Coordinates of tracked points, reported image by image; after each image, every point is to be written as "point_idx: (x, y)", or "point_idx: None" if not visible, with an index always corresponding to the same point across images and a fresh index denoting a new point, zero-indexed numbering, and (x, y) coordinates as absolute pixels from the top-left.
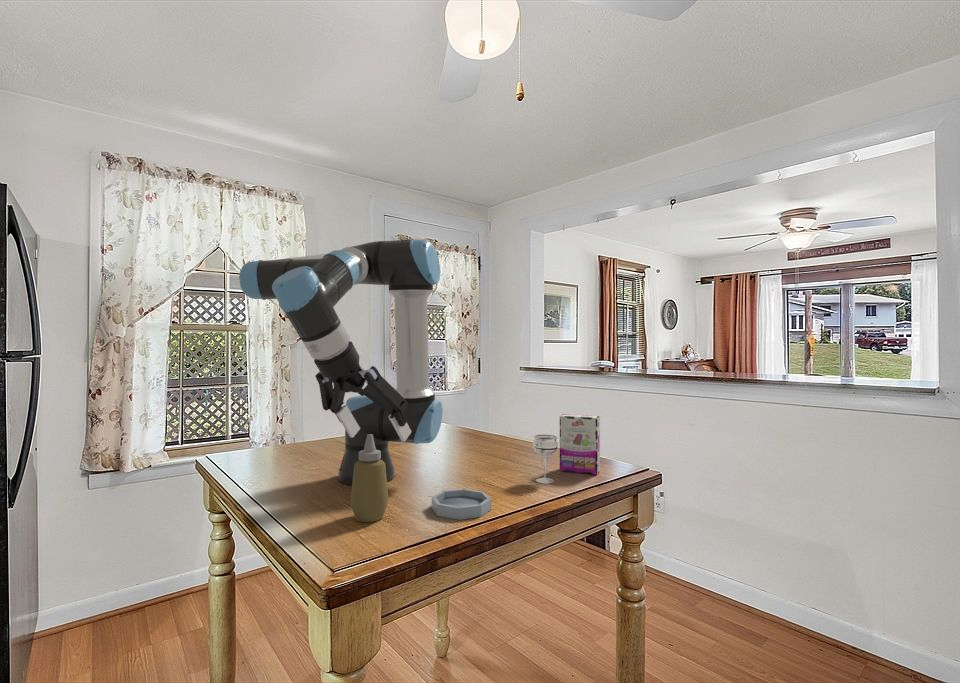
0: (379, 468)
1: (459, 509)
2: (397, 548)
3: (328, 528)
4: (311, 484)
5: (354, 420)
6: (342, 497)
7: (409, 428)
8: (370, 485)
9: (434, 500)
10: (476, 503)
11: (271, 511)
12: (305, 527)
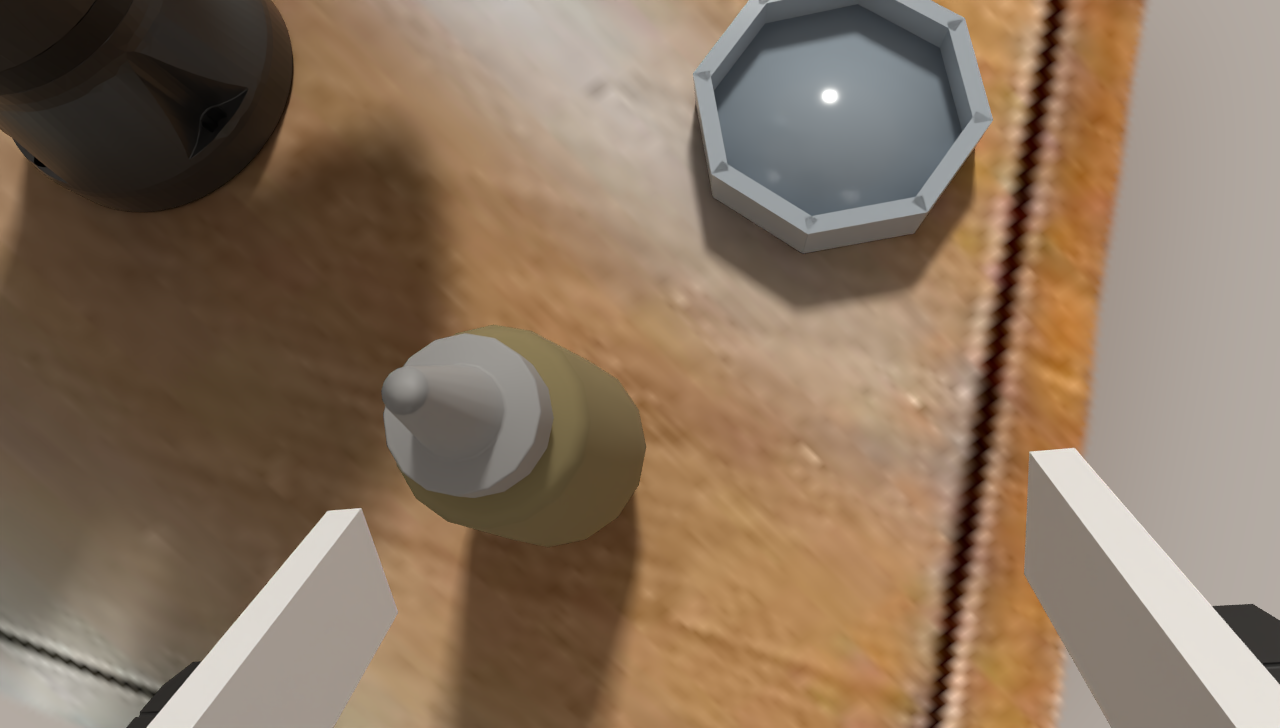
0: (593, 433)
1: (928, 210)
2: (929, 635)
3: (510, 654)
4: (13, 308)
5: (304, 603)
6: (269, 343)
7: (1098, 481)
8: (595, 502)
9: (757, 202)
10: (883, 62)
11: (133, 666)
12: (415, 707)
